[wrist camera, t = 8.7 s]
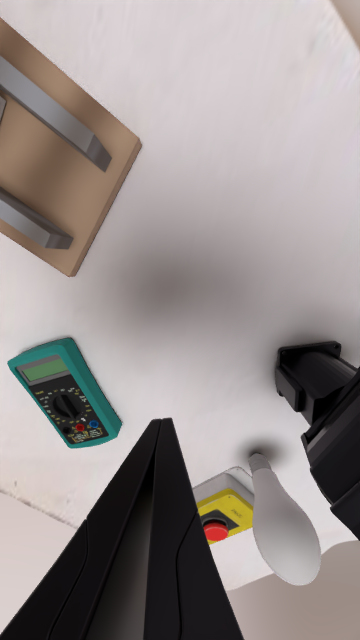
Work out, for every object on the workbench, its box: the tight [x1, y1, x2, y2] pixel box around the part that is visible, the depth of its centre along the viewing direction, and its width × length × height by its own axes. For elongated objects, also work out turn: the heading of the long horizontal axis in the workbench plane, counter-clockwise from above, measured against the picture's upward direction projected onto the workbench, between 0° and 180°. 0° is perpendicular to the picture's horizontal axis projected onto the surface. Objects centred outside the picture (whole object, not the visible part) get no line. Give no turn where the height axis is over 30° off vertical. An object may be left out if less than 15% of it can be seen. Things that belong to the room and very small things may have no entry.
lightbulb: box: [249, 453, 321, 585], centre depth 21 cm, size 6×6×11 cm
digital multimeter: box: [7, 338, 122, 448], centre depth 23 cm, size 7×15×3 cm, turn 19°
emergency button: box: [192, 467, 255, 545], centre depth 28 cm, size 9×4×15 cm
